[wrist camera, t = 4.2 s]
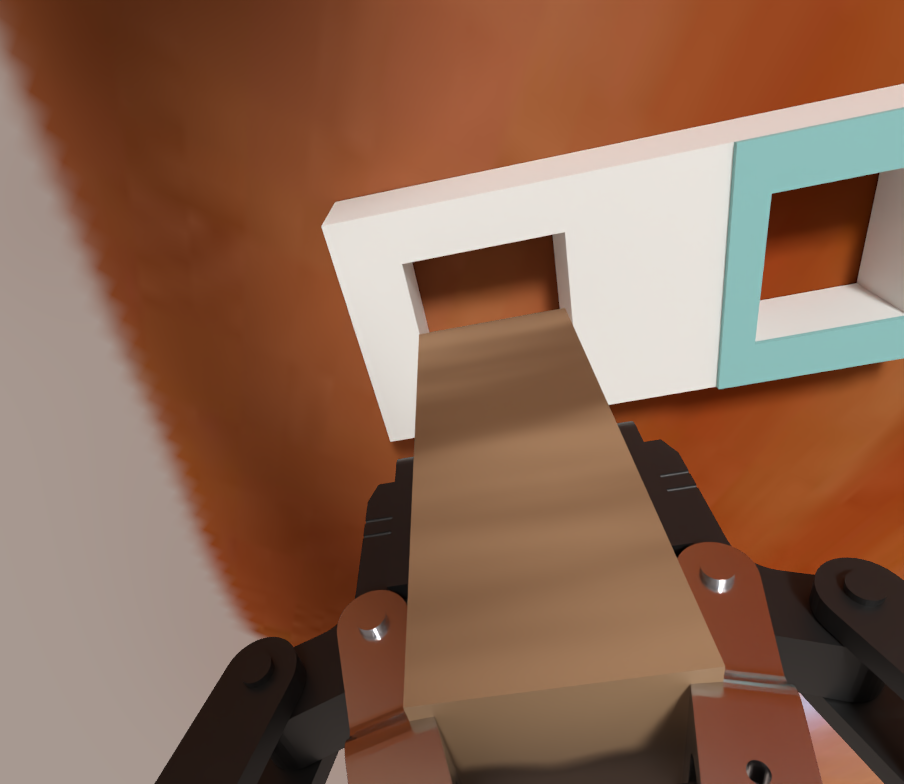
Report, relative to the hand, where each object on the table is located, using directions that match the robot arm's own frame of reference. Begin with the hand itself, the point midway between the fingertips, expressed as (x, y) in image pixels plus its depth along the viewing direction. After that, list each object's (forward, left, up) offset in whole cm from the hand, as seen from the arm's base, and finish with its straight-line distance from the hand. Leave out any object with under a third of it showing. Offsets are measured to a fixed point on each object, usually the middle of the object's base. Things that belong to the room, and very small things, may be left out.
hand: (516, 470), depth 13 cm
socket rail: (0, +6, -11) cm, 13 cm away
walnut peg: (0, 0, -4) cm, 4 cm away
